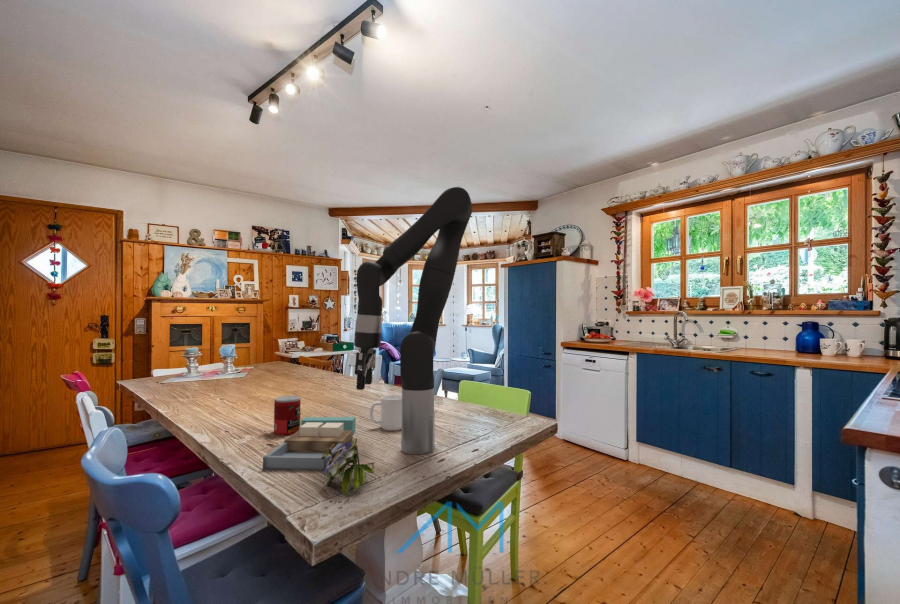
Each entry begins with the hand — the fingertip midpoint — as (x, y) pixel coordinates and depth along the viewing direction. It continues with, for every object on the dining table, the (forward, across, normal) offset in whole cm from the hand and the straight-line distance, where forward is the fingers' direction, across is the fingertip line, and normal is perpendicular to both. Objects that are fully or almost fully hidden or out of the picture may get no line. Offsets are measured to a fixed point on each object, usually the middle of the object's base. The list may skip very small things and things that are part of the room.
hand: (364, 386), depth 111 cm
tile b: (+14, 0, +14) cm, 20 cm away
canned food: (+19, +13, +27) cm, 35 cm away
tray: (+18, -12, +11) cm, 24 cm away
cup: (+17, +19, -4) cm, 26 cm away
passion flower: (+17, -25, -4) cm, 30 cm away
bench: (+18, -2, +11) cm, 21 cm away
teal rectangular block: (+18, +12, +13) cm, 25 cm away
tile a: (+14, 0, +8) cm, 16 cm away
